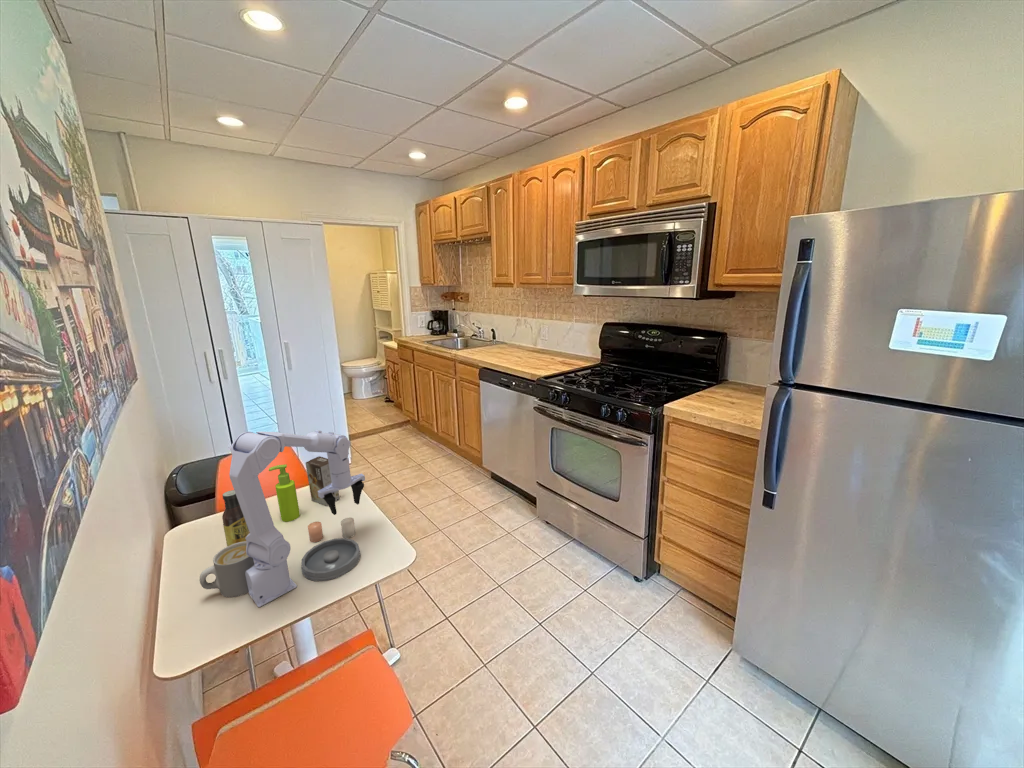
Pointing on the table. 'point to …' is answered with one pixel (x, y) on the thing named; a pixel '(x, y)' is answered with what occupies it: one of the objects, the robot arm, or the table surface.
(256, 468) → the robot arm
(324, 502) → the coffee box
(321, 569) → the groove tray
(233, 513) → the sauce bottle
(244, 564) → the coffee mug
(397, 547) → the table surface
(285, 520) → the soap dispenser
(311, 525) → the terracotta bead
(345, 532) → the cream bead
